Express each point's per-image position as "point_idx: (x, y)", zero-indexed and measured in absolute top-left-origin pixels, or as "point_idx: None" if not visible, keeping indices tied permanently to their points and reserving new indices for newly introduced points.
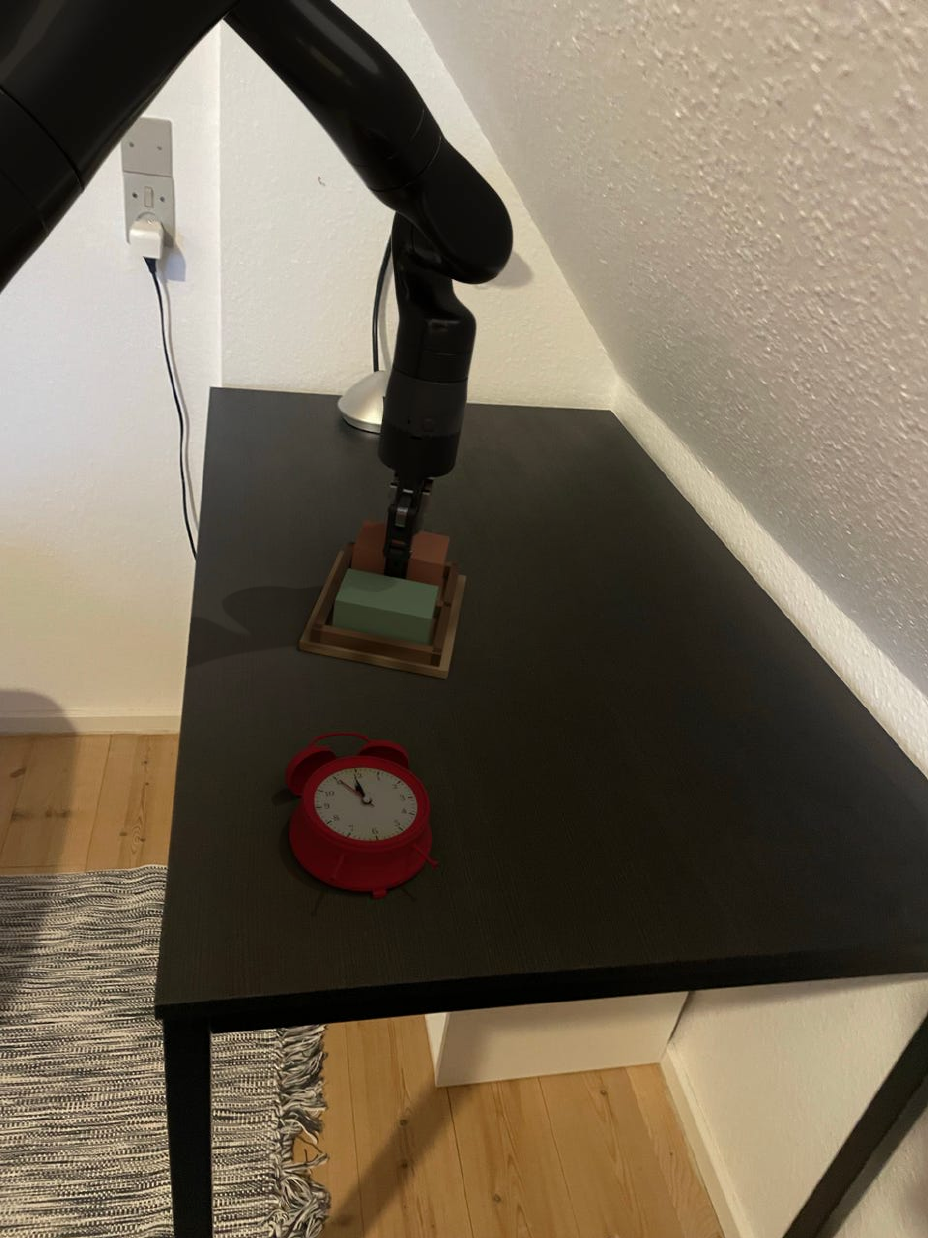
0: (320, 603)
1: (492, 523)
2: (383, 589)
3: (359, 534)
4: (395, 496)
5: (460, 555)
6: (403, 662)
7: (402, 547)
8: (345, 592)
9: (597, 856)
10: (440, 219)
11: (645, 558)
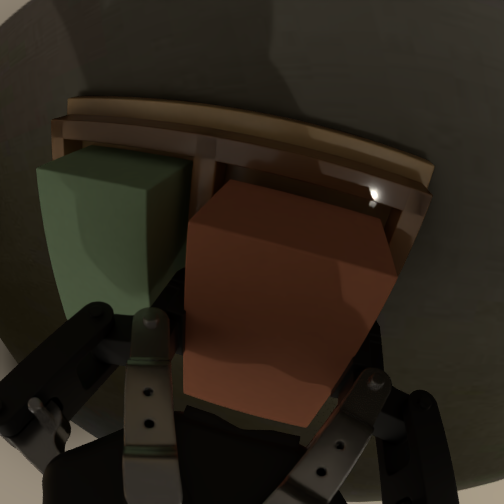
0: (178, 111)
1: (485, 405)
2: (98, 265)
3: (276, 247)
4: (60, 463)
5: (420, 372)
6: None
7: (100, 358)
8: (59, 187)
9: (11, 325)
10: None
11: (379, 479)
